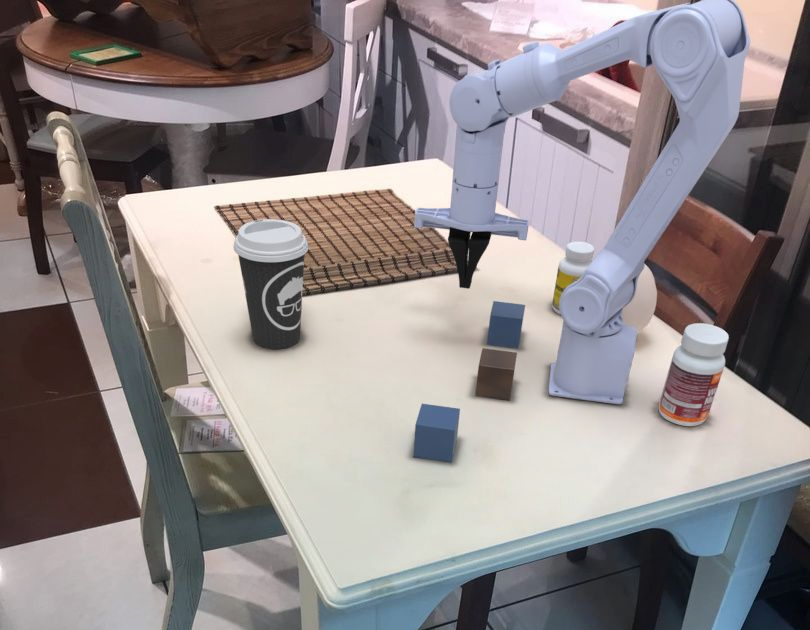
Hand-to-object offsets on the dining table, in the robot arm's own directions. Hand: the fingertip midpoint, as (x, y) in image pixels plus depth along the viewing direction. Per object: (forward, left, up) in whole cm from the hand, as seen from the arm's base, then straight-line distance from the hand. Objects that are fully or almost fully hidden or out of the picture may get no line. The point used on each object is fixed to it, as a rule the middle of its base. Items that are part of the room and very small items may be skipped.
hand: (465, 285), depth 112 cm
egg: (-22, -7, -8) cm, 25 cm away
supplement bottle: (-15, -14, -8) cm, 22 cm away
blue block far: (-6, -2, -8) cm, 10 cm away
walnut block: (-6, +12, -8) cm, 16 cm away
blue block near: (0, +27, -8) cm, 28 cm away
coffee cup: (+25, +6, -8) cm, 27 cm away
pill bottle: (-30, +12, -8) cm, 33 cm away
